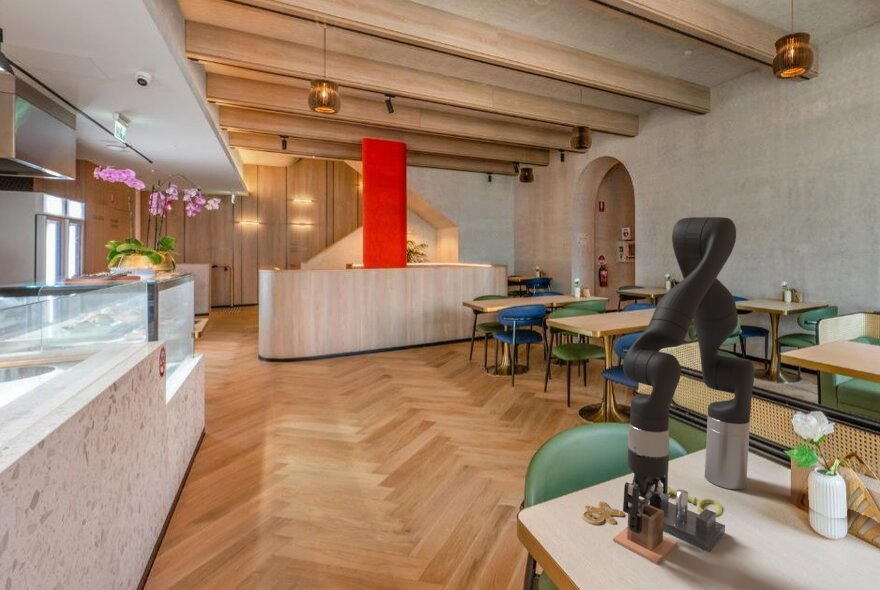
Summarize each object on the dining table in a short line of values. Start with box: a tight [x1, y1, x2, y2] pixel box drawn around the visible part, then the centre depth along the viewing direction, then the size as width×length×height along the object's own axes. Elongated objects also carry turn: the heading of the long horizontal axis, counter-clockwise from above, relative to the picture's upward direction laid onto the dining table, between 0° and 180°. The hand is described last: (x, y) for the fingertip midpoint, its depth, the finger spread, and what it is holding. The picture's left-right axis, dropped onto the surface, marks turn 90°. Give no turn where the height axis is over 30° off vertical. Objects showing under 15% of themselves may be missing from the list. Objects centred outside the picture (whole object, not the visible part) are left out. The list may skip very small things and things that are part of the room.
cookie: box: [581, 501, 626, 526], centre depth 99 cm, size 8×1×10 cm
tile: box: [612, 526, 678, 565], centre depth 89 cm, size 9×9×1 cm
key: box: [667, 486, 723, 517], centre depth 103 cm, size 7×12×2 cm, turn 61°
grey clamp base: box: [661, 488, 726, 553], centre depth 94 cm, size 9×14×8 cm, turn 39°
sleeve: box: [627, 503, 664, 551], centre depth 89 cm, size 5×5×6 cm
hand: (645, 523), depth 89 cm, fingers open, 8 cm apart
